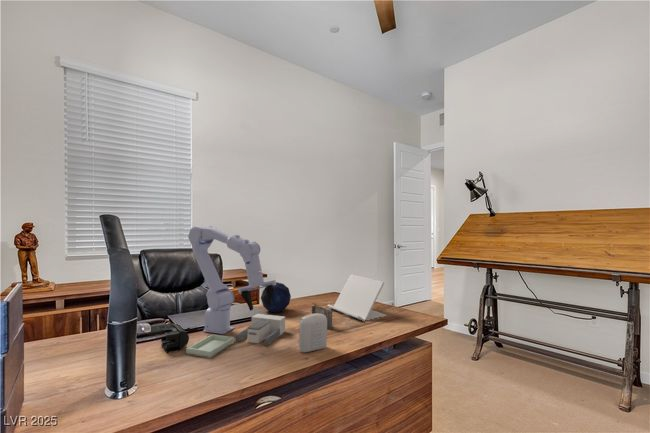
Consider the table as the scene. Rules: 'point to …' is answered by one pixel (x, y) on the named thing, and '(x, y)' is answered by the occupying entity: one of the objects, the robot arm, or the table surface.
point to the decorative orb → (277, 298)
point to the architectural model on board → (325, 312)
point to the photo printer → (312, 332)
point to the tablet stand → (359, 298)
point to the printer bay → (275, 328)
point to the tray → (210, 346)
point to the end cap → (174, 338)
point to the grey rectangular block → (258, 331)
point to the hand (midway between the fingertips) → (261, 307)
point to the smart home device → (158, 329)
